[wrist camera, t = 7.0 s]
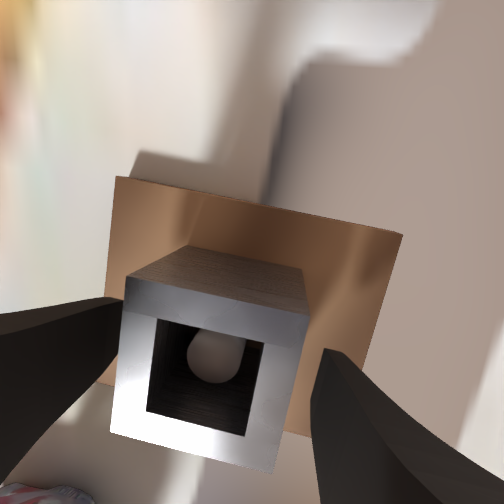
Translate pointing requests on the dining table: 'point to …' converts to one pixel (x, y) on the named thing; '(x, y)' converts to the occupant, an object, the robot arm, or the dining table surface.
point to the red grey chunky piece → (43, 495)
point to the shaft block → (265, 249)
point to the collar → (180, 337)
